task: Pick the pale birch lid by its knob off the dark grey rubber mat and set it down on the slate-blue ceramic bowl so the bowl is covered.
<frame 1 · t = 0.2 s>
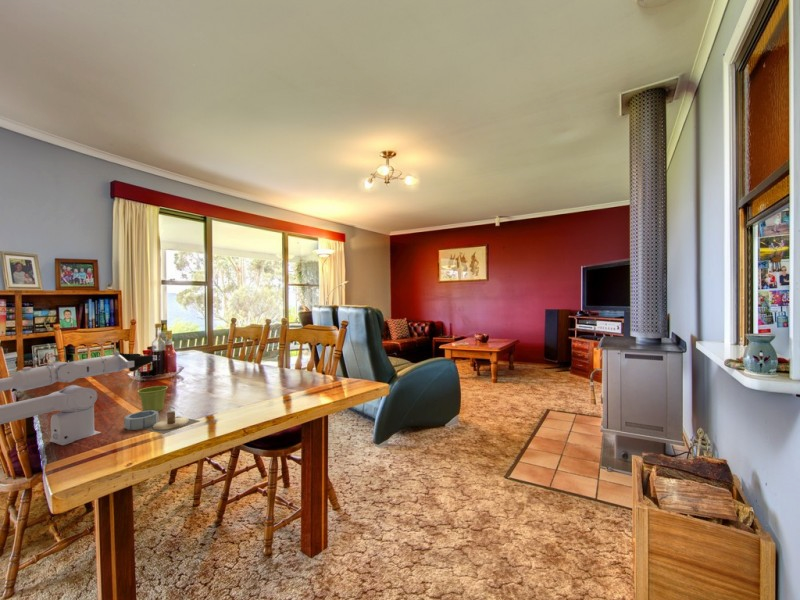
hand: (146, 357, 125), 21 cm above the table, tool horizontal, fingers open, 7 cm apart
mat: (171, 426, 116), on the table
bowl: (142, 426, 116), on the table
plant pot: (153, 412, 131), on the table
lid: (171, 424, 116), point 1 cm above the table, touching mat
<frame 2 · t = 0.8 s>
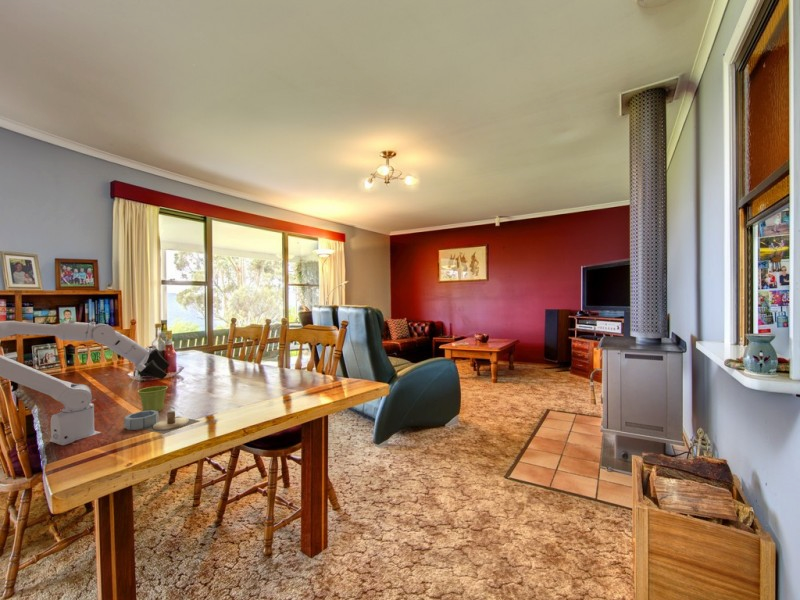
hand: (166, 371, 123), 17 cm above the table, tool tilted 50°, fingers open, 7 cm apart
nothing on the table moved.
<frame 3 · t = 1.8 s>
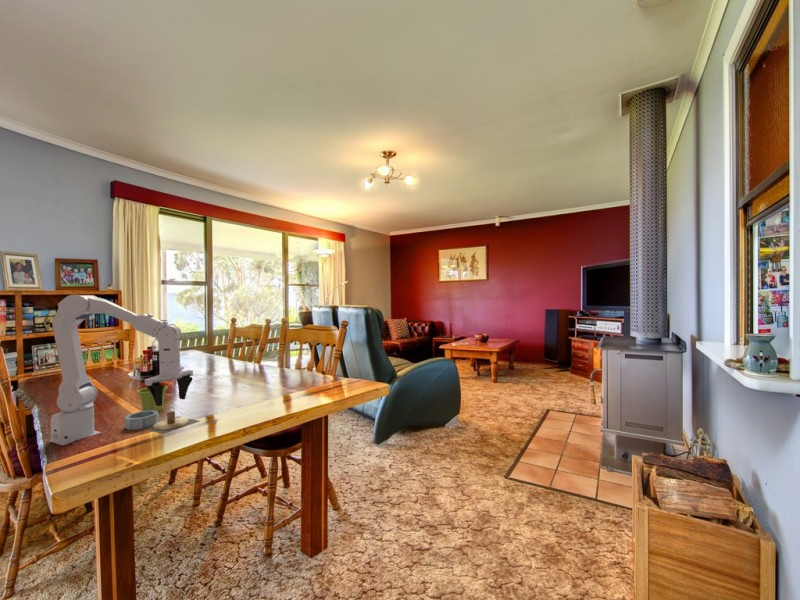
hand: (170, 402, 116), 8 cm above the table, tool pointing down, fingers open, 7 cm apart
nothing on the table moved.
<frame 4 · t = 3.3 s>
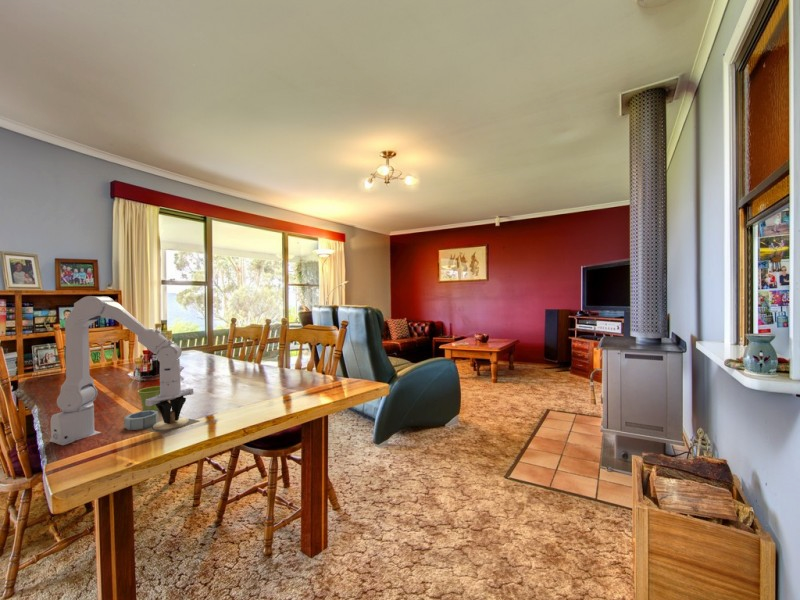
hand: (171, 421, 116), 2 cm above the table, tool pointing down, fingers closed on lid, 2 cm apart
lid: (171, 424, 116), point 1 cm above the table, touching gripper, mat
everything else where it was.
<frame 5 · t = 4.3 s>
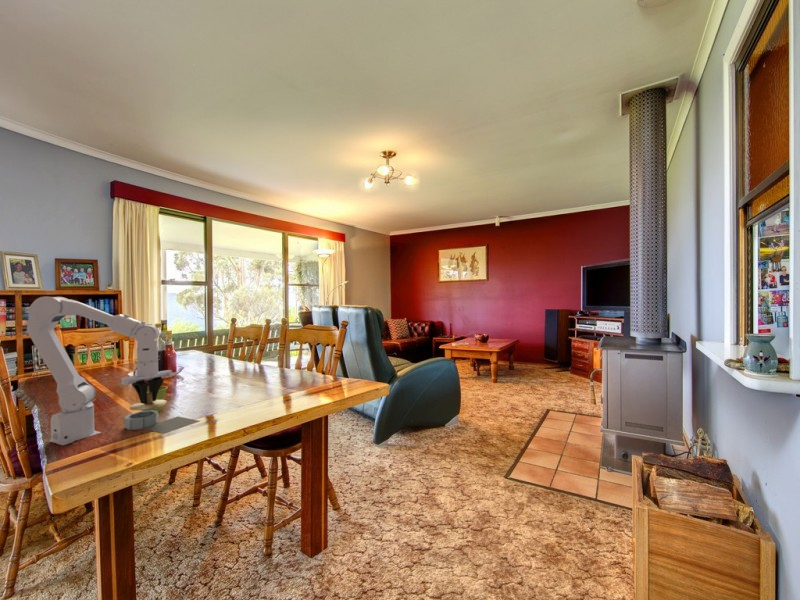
hand: (148, 401, 116), 8 cm above the table, tool pointing down, fingers closed on lid, 2 cm apart
lid: (148, 405, 116), point 7 cm above the table, touching gripper
everything else where it was.
when the fingers open (6 cm above the table, at t = 5.0 s): lid drops 1 cm, resting on bowl.
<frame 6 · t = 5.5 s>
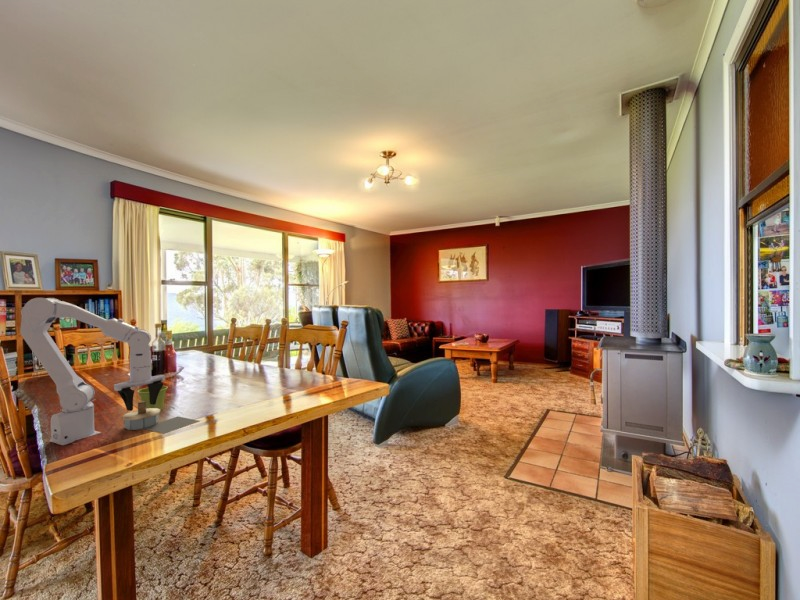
hand: (141, 407, 116), 7 cm above the table, tool pointing down, fingers open, 6 cm apart
lid: (142, 414, 116), point 4 cm above the table, touching bowl
everything else where it was.
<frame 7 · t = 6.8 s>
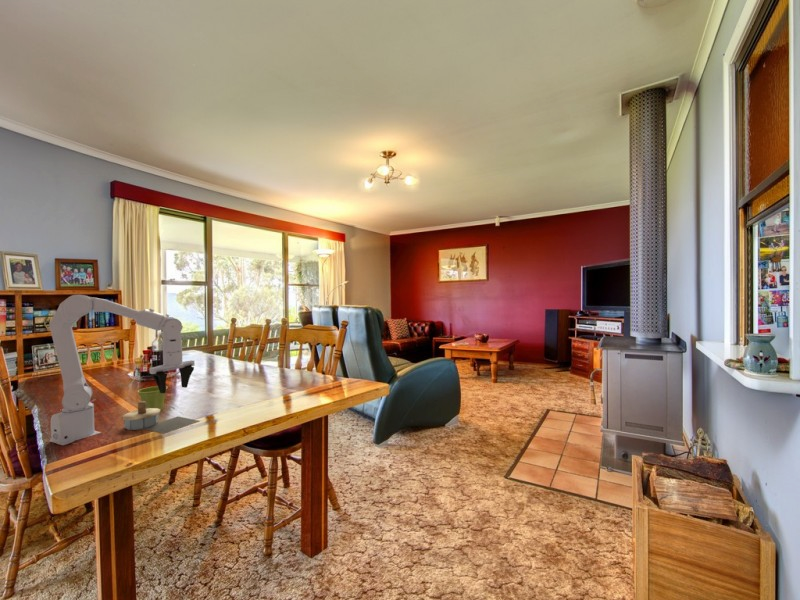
hand: (173, 390, 123), 10 cm above the table, tool pointing down, fingers open, 7 cm apart
nothing on the table moved.
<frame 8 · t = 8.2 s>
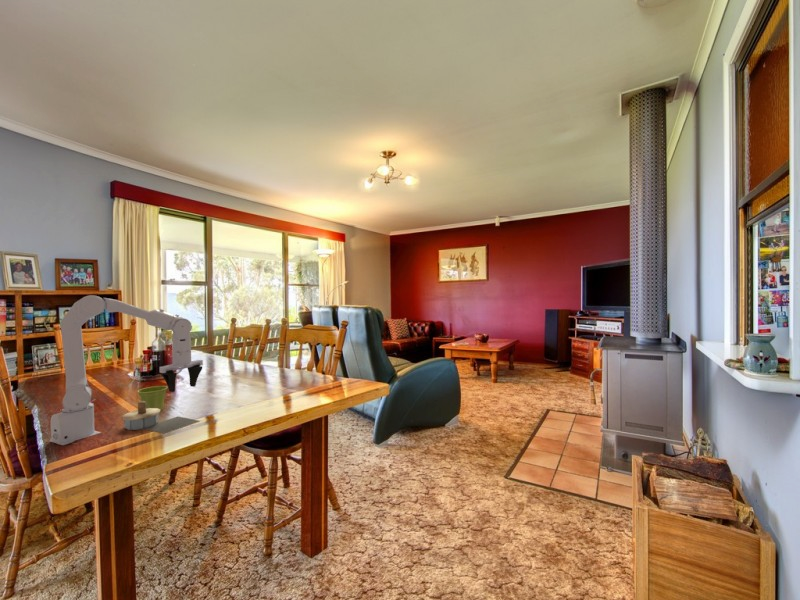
hand: (182, 388, 125), 10 cm above the table, tool pointing down, fingers open, 7 cm apart
nothing on the table moved.
at the end: lid 0.2 cm off-centre on the bowl, point 4.0 cm above the bowl's base; lid tilted 0°; the gripper is holding nothing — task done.
